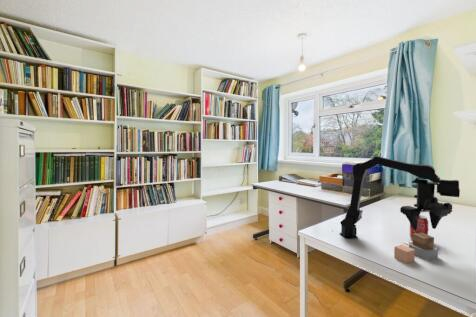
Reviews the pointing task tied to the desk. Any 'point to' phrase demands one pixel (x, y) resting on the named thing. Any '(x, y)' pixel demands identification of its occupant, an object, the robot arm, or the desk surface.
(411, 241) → the swatch
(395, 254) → the terracotta cube
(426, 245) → the walnut cube
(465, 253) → the desk surface
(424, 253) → the slate base
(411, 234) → the soda can
